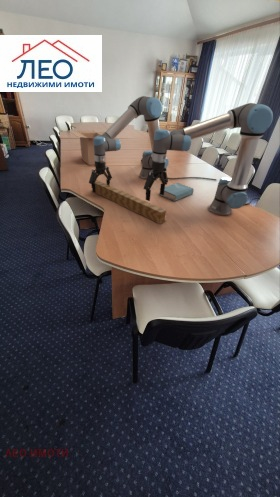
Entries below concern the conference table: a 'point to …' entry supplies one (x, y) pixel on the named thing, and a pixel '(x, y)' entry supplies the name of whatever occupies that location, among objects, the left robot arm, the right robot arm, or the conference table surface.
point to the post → (131, 202)
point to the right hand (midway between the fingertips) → (154, 197)
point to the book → (177, 191)
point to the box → (87, 145)
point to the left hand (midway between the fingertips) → (101, 190)
